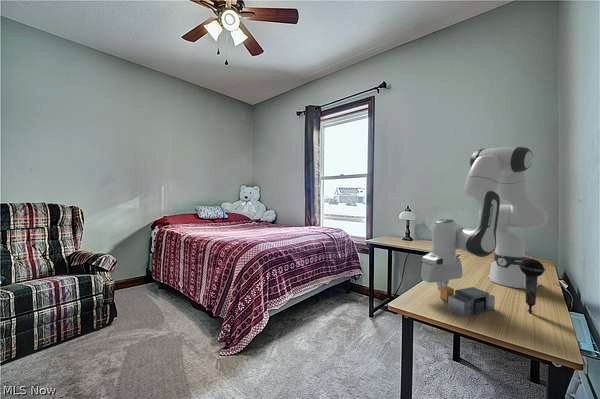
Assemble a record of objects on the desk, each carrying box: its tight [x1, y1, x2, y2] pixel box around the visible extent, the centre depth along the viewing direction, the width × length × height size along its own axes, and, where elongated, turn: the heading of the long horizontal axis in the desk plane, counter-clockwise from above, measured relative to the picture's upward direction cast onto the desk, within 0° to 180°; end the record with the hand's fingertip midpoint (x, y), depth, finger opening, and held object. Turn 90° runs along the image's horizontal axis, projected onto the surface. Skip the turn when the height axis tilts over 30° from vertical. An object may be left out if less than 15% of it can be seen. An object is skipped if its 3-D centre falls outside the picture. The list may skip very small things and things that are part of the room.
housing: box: [447, 286, 496, 318], centre depth 92 cm, size 17×6×7 cm, turn 112°
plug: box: [439, 285, 485, 315], centre depth 96 cm, size 4×14×4 cm, turn 21°
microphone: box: [519, 258, 546, 314], centre depth 90 cm, size 7×7×20 cm
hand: (442, 290), depth 103 cm, fingers closed, pressing on plug
